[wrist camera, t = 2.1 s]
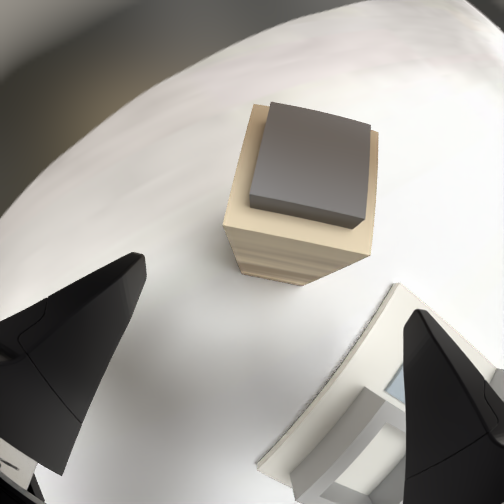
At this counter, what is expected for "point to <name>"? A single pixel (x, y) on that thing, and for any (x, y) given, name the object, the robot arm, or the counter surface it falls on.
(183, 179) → the counter surface
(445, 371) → the robot arm
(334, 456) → the socket panel
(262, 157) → the plug
